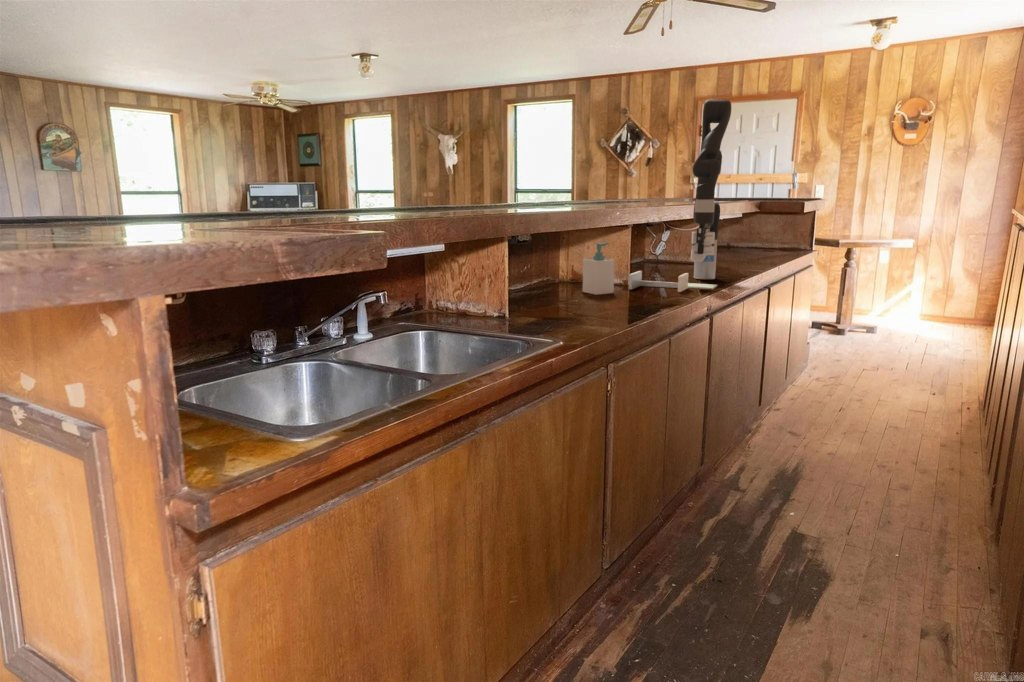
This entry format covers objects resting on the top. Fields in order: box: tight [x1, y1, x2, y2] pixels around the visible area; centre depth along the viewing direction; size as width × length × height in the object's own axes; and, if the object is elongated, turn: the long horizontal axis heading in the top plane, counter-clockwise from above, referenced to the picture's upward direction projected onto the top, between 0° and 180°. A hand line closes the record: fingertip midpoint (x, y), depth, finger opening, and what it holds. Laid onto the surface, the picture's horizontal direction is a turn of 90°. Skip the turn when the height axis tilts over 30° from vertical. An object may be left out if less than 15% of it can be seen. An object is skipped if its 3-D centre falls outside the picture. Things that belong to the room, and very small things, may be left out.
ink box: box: [690, 231, 715, 262], centre depth 275 cm, size 8×5×12 cm, turn 84°
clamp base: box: [628, 270, 678, 290], centre depth 274 cm, size 14×19×6 cm
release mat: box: [687, 282, 718, 290], centre depth 279 cm, size 10×12×1 cm
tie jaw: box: [677, 272, 689, 293], centre depth 268 cm, size 12×1×6 cm, turn 153°
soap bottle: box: [582, 242, 615, 296], centre depth 263 cm, size 9×9×19 cm
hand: (702, 253), depth 276 cm, fingers closed on ink box, 6 cm apart
